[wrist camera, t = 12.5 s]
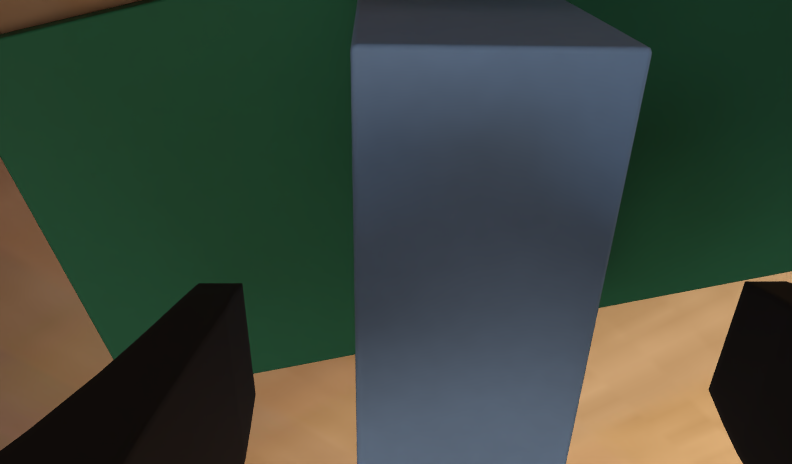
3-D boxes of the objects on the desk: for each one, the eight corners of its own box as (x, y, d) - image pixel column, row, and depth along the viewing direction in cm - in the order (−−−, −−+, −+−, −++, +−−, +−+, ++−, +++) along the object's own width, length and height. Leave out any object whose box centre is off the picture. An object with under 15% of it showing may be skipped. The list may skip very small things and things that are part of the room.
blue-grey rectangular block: (361, 306, 17) (357, 475, 12) (358, -13, 13) (350, 44, 8) (510, 306, 17) (565, 472, 12) (551, -10, 13) (656, 47, 8)
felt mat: (145, 374, 19) (133, 397, 18) (-33, 42, 14) (-60, 52, 13) (827, 242, 17) (851, 261, 16) (884, -178, 13) (922, -183, 12)
